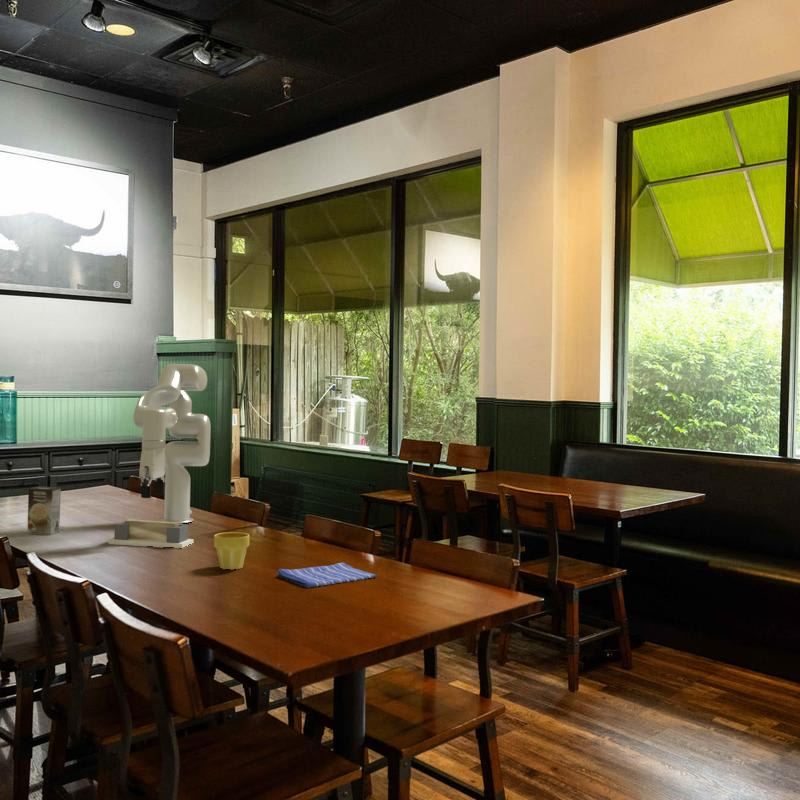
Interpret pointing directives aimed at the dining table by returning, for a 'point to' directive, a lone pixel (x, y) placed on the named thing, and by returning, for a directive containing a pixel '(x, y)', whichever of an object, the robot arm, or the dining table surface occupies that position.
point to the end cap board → (175, 539)
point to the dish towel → (324, 575)
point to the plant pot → (231, 549)
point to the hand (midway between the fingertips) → (152, 495)
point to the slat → (149, 529)
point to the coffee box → (43, 510)
